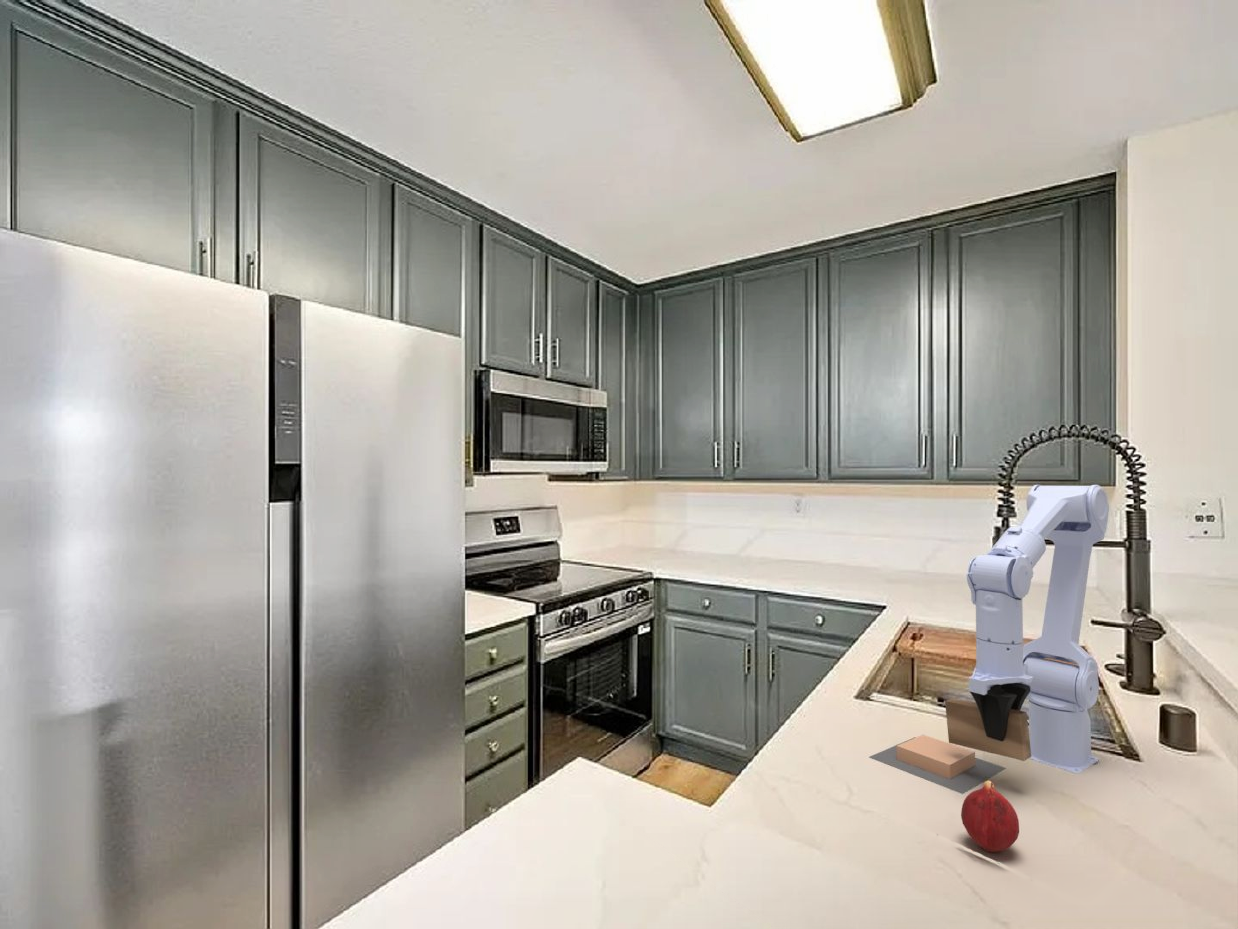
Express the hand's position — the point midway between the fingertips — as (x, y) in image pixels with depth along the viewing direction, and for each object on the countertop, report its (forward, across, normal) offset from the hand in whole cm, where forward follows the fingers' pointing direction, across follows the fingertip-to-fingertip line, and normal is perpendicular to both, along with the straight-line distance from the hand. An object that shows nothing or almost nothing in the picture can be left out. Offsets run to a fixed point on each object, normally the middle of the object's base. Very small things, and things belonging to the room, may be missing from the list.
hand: (1000, 736), depth 87 cm
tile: (+6, 0, +5) cm, 8 cm away
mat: (+7, 0, +9) cm, 12 cm away
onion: (+8, -18, -6) cm, 20 cm away
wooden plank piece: (+2, 0, +2) cm, 3 cm away
